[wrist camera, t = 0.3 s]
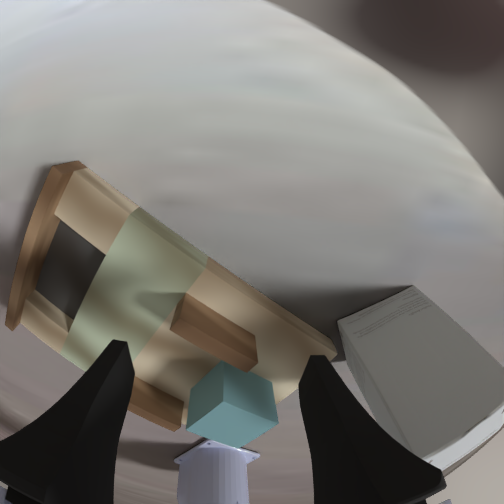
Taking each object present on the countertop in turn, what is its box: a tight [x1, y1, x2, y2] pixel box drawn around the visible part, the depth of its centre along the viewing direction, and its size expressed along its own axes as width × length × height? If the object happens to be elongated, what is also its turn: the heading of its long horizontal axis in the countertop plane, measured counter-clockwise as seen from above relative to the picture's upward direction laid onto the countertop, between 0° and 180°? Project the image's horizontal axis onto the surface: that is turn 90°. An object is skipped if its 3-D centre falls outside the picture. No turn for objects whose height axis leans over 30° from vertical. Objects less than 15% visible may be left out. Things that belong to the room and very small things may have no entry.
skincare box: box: [337, 286, 504, 471], centre depth 17 cm, size 8×6×15 cm
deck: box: [5, 161, 338, 432], centre depth 20 cm, size 16×25×5 cm, turn 51°
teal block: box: [186, 360, 279, 449], centre depth 21 cm, size 5×5×4 cm
